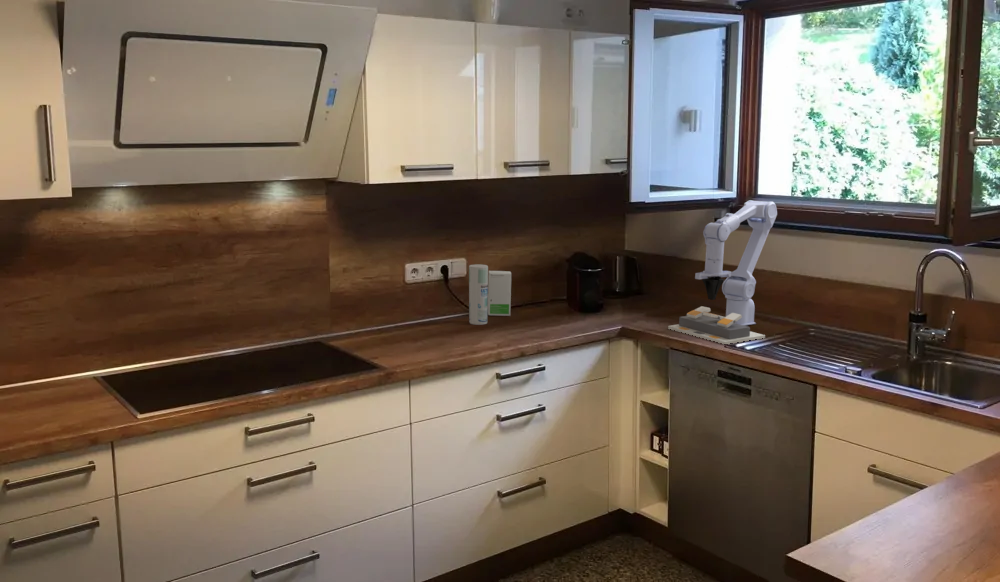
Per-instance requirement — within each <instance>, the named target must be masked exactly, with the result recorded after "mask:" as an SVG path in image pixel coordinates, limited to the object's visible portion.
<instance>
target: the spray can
mask: <svg viewBox="0 0 1000 582" xmlns="http://www.w3.org/2000/svg"><path fill="white" fill-rule="evenodd" d="M488 279H489V266H488V265H487V264H480V263H479V264H477V263H475V264H469V266H468V300H469V301H468V302H469V303H468V311H469V314H468V317H469V319H468V321H469V324H470V325H478V326H480V325H487V324H488Z"/></svg>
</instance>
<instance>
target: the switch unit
mask: <svg viewBox="0 0 1000 582" xmlns="http://www.w3.org/2000/svg"><path fill="white" fill-rule="evenodd" d="M720 320H721V319H717V318H713V317H709V316H705V315H702V316H700V317H698V318H696V319H695V318H691V317H687V315H685V316H679V319H678V324H673V325H667V328H668V330H670V329H671V330H670V331H674V330H675V332H679V333H681V332H682V333H681V334H685V333H686V334H685V335H688V334H689V336H692V335H693V337H695V336H696V338H699V337H700V338H699V339H702V338H704V339H703V340H706V339H707V341H709V340H711V341H710V342H713V341H715V342H714V343H716V342H718V343H717V344H720V343H722V344H721V345H724V344H728V345H731V344H730V343H733V344H738V343H737V342H739V343H744V342H743V341H745V342H750V341H749V340H751V341H756V340H755V339H757V340H763V339H766V335H765V334H762V333H757V332H754V331H751V327H750V326H749V325H745V326H744V325H740V324H736V323H733V324H732V325H730V326H729V327H728V328H726V327H722V326H718V324H717V322H719V321H720ZM762 338H763V339H762Z"/></svg>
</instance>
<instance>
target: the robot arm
mask: <svg viewBox="0 0 1000 582" xmlns="http://www.w3.org/2000/svg"><path fill="white" fill-rule="evenodd" d="M777 216H778V209H777V205H776V203H775V202H774V201H761V200H751V199H750V200H747V201H746V202H744V203H743V206H742V207H741V208H740V209H739V210H738V211H736V212H735V213H732V212H731V213H730V212H727V213H725V215H724V216H723V217H721V218H718V219H716V221H715V222H709V223H707V224H706V225H705V226H704V229H703V231H702V233H703V234H702V235H703V238H704V243H705V245H706V246H705V259H704V260H705V263H704V270H703V271H700V272H695V273H694V274H695V276H694V279H695V280H702V283H703V284H704V287H705V289H706V294H707V295H706V296H707V299H708V300H711V301H714V300H716V297H717V296H718V294H719V293H718V292H719V289H720V287H721V292H722V293H723V295H724V298H725V299H726V305H725V306H726V307H725V309H726V310H725V317H726V316H728V315H729V314H731V313H736V314H740V315H742V318H741V319H739V320H738V321H736V324H740V325H744V326H750V325H756V324H757V323H756V322H755V311H756V310H755V309H756V308H755V303H754V300H753V299H752V297H753V296H754V294H755V289H756V284H757V280H756V279H755V277H754V276H753V272H754V270H755V267H756V265H757V262H758V260H759V257H760V256H761V253H762V250H763V248H764V246H765V243H766V240H767V238H768V235H769V232H770V230H771V228H773V226H774V223H775V221H776V218H777ZM746 220H747V223H748V224H747V225H748V226H750V228H752V232H751V234H750V236H749V238H748V242H747V243H746V246H745V249H744V251H743V253H742V256H741V259H740V260H739V264H738V265H737V268H736V269H735V270H733V271H730V270H723V267H724V255H725V254H724V252H725V241H727V239H728V238H729V236H730V234H731V233H733V232H734V231H736V230H737V229H739V227H740V225H741V223H742V222H744V221H746ZM725 278H726V279H725Z"/></svg>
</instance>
